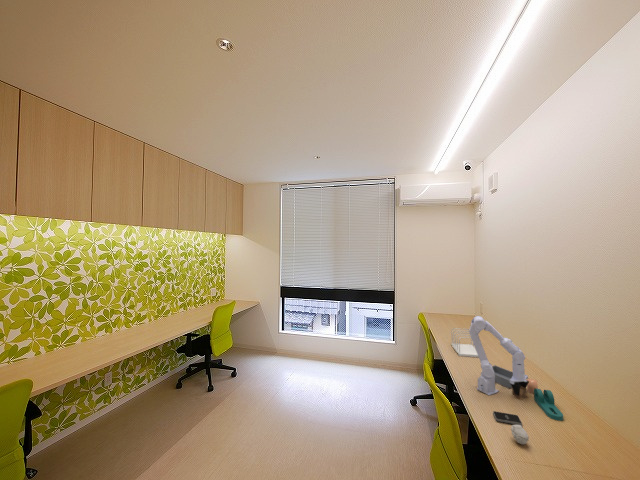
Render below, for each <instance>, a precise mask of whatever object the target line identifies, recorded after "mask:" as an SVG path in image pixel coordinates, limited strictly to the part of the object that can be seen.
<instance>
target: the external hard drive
mask: <svg viewBox="0 0 640 480" xmlns="http://www.w3.org/2000/svg"><path fill="white" fill-rule="evenodd" d="M492 414H493V417H494V420H495V422H496V421H497V423H499V424H507V425H509V426H510V425H511V426H512V425H521V426H522V427H523V422H522V421H521V419H520V417H519V415H518V414H514V413H513V414H512V413H508V412H501V411H495V410H492Z"/></svg>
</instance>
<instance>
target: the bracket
mask: <svg viewBox="0 0 640 480" xmlns="http://www.w3.org/2000/svg"><path fill="white" fill-rule="evenodd" d="M533 400H534V402H535V403H536V404H537V405H538V407H539V408H540V409H541V410H542V411H543V413H544V414H545V416H546V417H548V418H549V419H551V420H554V421H560V422H561V421H564V414H563V412H562V411H561V410H560V409H559V408H558V407H557V405H556V403H555V397H554V393H553V392H552V390H551V389H544V390H543V391H542V389H540V388H538V389H534V394H533Z"/></svg>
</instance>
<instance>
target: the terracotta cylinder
mask: <svg viewBox="0 0 640 480" xmlns="http://www.w3.org/2000/svg"><path fill="white" fill-rule="evenodd" d="M526 380H527V381H529V383H528V385H527V387H526V388H527V393H528V394H530V395H534V389H539V387H538V385H539V384H538V381H537V380H536V379H534V378H530V377H528V379H526Z"/></svg>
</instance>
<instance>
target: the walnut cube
mask: <svg viewBox="0 0 640 480" xmlns="http://www.w3.org/2000/svg"><path fill="white" fill-rule="evenodd" d="M511 390H512V392H511V393H512V396H513V397H516V398H518V399H521V400H523V399H527V398H528V391H527V387H526V388H524V387H522V386H521V387H520V393H519V396H518V395H516V394H514V390H513V388H511Z"/></svg>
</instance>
